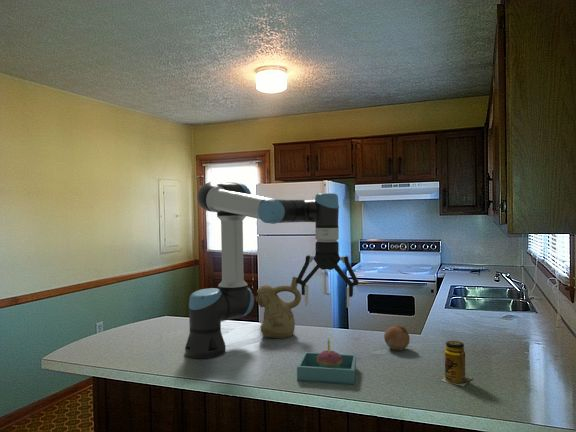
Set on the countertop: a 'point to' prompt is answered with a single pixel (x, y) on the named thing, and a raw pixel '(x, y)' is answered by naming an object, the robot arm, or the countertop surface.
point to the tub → (326, 370)
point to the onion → (397, 337)
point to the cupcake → (329, 358)
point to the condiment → (455, 364)
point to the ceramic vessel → (278, 310)
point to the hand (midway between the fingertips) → (327, 306)
